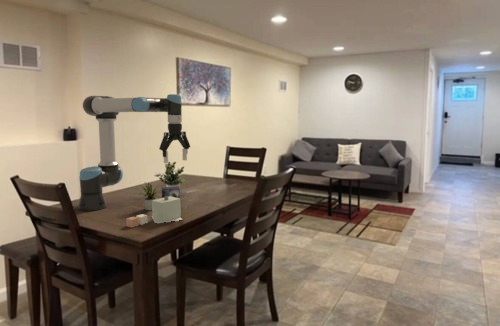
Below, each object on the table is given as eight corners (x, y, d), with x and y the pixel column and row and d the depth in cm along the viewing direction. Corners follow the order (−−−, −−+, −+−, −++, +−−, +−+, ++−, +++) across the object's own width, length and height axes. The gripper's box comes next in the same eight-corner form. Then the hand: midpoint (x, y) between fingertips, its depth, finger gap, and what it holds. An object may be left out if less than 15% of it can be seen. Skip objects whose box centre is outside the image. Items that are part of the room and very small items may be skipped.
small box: (162, 206, 216) (161, 189, 215) (161, 203, 222) (161, 187, 221) (180, 205, 219) (179, 188, 217) (179, 202, 225) (178, 186, 224)
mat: (155, 223, 183) (155, 222, 183) (151, 216, 195) (151, 215, 195) (182, 220, 189) (182, 219, 189) (177, 214, 200) (177, 213, 200)
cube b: (131, 227, 177) (131, 219, 176) (126, 226, 179) (126, 218, 178) (138, 225, 180) (138, 217, 179) (133, 224, 182) (133, 216, 182)
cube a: (141, 225, 181) (140, 217, 181) (136, 223, 184) (135, 215, 183) (147, 223, 184) (147, 215, 184) (142, 221, 187) (142, 214, 186)
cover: (163, 222, 185) (162, 200, 183) (152, 219, 190) (151, 197, 188) (180, 216, 194) (180, 196, 192) (170, 213, 199) (169, 193, 197)
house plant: (131, 208, 211) (130, 180, 209) (152, 204, 221) (152, 177, 218) (143, 213, 201) (142, 184, 199) (165, 208, 210) (164, 181, 208)
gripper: (161, 123, 186) (162, 164, 189) (196, 122, 206) (196, 159, 209) (151, 123, 190) (153, 163, 193) (187, 122, 210) (187, 158, 213)
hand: (175, 161), depth 201 cm, fingers open, 13 cm apart
